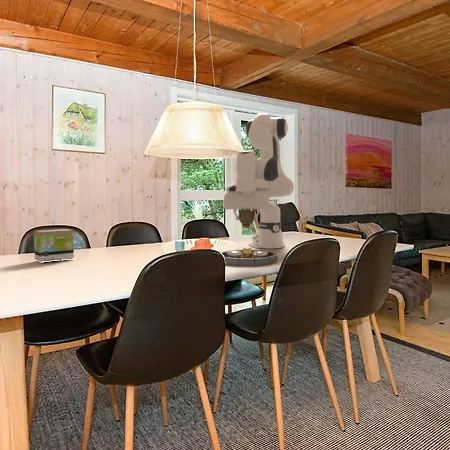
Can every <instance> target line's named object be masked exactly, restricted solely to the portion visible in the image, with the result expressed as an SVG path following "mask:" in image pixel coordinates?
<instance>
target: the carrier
mask: <svg viewBox="0 0 450 450" xmlns="http://www.w3.org/2000/svg"><path fill="white" fill-rule="evenodd" d="M221 253H222V254H223V255H224V258H225V262H226V266H235V267H257V266H258V267H260V266H268V264H269V265H272V263H273V264H275V262H276V263H277V262H278V254H277V252H275V251H271V250H264V249H263V250H262V249H252V247H251V246H250V247H249V246H247V247H242V249H234V250H233V249H232V250H224V251H221Z"/></svg>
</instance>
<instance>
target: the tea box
mask: <svg viewBox="0 0 450 450" xmlns="http://www.w3.org/2000/svg"><path fill="white" fill-rule="evenodd" d="M33 242H34V243H33V245H34V247H33V249H34V260H35V259H36V260H38V261H41V262H42V261H51V260H62V259H72V258H74V257H75V251H74V249H75V248H74V246H75V244H74V230H72V229H68V228H58V229H41V230H40V229H39V230H34V231H33ZM74 259H75V258H74Z"/></svg>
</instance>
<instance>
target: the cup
mask: <svg viewBox="0 0 450 450" xmlns="http://www.w3.org/2000/svg"><path fill="white" fill-rule="evenodd" d="M237 211H238V216H239V223H240V224H242V225H241V227H242V228H243V229H250V228H251V225H252V224H253V223H254V221H255V220H254V216H255V215H256V209H237Z"/></svg>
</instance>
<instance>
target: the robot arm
mask: <svg viewBox="0 0 450 450" xmlns="http://www.w3.org/2000/svg"><path fill="white" fill-rule="evenodd" d="M288 128H289V125H288V122H287V120H286V119H285V118H284V117H271V116H270V115H269V114H267V113H264V112H263V113H261V112H260V113H258V114H257V115H255V116H254V118H253V119H251V120H248V121H247V123H246V126H245V134H246V136H247V138H248V142H249V144H250V145H252V147H253V148H256V149H257V150H259V159H257V157H256V152H255V151H254V150H251V149H250V150H247V149H246V150H240V151H238V152H237V155H236V164H235V172H236V180H235V184H232V185H230V186H227V187H226V189H225V190H226V192H227V193H225V194H224V196H223V203H222V204H223V209H224V210H233V211H232V212H233V214H234V215H235V221H238V220H239V215H238V214H237V211H238V210H239V209H240V210H241V209H243V210H244V209H245V210H247V209H248V210H249V209H250V210H256V212H257V213H255V216H254V221H257V220H258V215H259V214H260V221H259V222H258V229H257V231H256V232H255V233H253V236H252V237H251V238H252V242H250V243H248V246H250V247H251V248H252V247H253V248H256V249H280V248H284V247H285V245H286V244H285V243H284V234H283V231H282V230H281V229H282V221H281V209H280V207H279V206H278V205H277V204H276V203H273V202H271V201H270V198H285V197H290V196H291V195H292V194H293V193H294V189H295V185H294V182H293V181H292V179H290V178H289V177H288V176H287V175H286V174H285V173H284V170H283V168H282V164H281V145H280V141H282V139H284V138H285V137H286V136H287V133H288ZM239 221H240V220H239Z"/></svg>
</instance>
